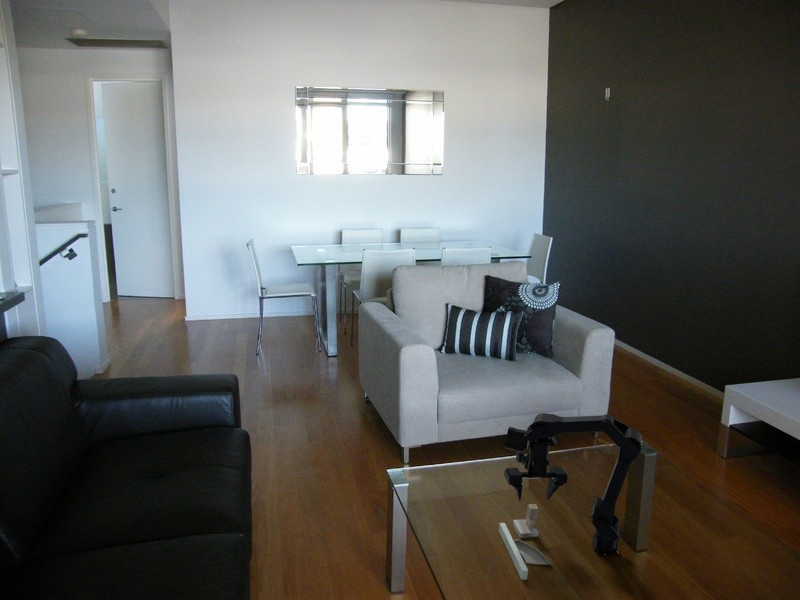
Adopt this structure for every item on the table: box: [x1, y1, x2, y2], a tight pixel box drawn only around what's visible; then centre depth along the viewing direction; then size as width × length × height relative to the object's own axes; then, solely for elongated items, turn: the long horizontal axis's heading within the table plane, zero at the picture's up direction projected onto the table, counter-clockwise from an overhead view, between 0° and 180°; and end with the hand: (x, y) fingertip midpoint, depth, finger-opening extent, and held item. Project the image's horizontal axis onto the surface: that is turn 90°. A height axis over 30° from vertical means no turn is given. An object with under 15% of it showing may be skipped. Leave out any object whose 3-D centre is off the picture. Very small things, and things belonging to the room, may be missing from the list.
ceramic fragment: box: [513, 539, 553, 567], centre depth 193 cm, size 14×5×4 cm, turn 44°
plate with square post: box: [512, 503, 539, 539], centre depth 205 cm, size 6×7×9 cm
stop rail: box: [498, 522, 529, 581], centre depth 194 cm, size 2×22×3 cm, turn 9°
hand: (533, 499), depth 203 cm, fingers open, 9 cm apart
